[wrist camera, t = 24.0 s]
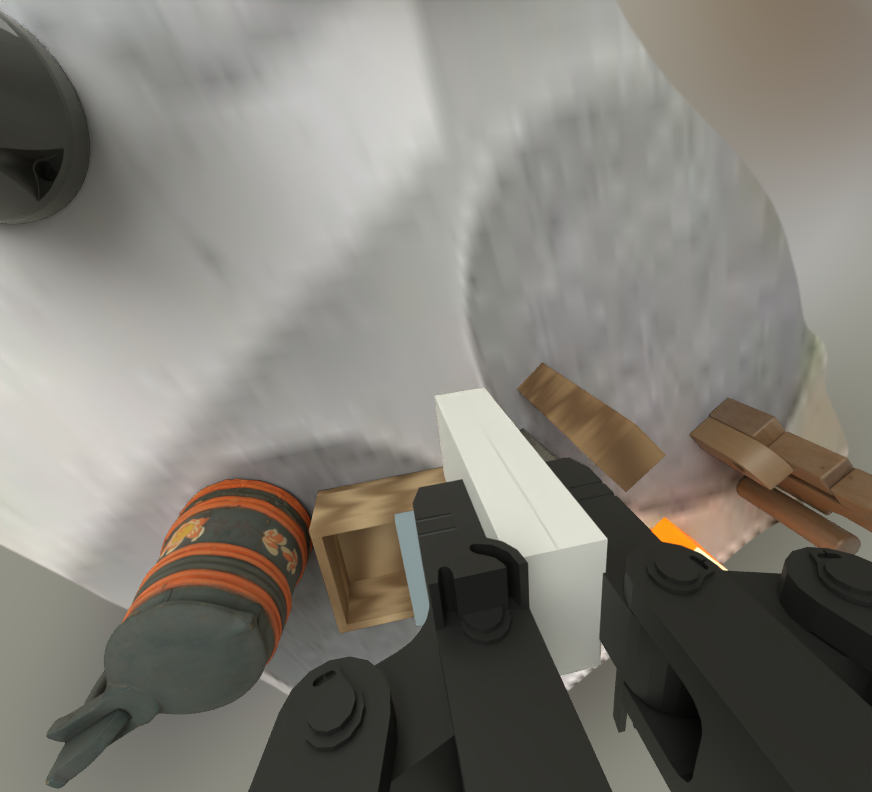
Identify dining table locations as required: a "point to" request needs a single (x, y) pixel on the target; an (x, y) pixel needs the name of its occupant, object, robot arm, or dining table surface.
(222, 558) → the beer stein
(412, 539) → the lid
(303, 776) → the robot arm
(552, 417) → the pin
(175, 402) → the dining table surface
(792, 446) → the wooden toy
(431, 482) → the toolbox
